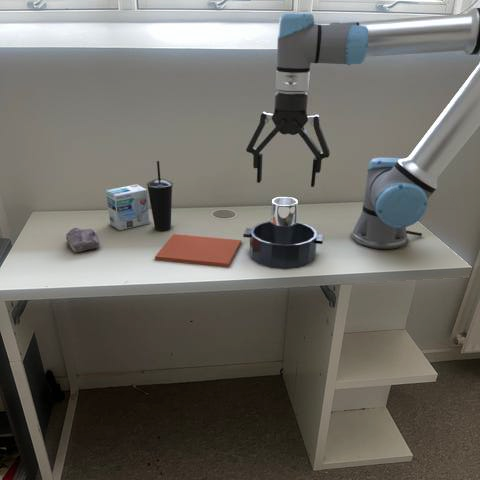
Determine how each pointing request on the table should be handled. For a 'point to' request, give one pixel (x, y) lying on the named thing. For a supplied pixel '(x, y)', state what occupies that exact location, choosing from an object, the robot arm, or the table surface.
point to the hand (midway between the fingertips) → (285, 183)
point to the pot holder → (199, 250)
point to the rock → (82, 239)
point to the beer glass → (284, 219)
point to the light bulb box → (128, 207)
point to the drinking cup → (160, 201)
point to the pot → (283, 246)
